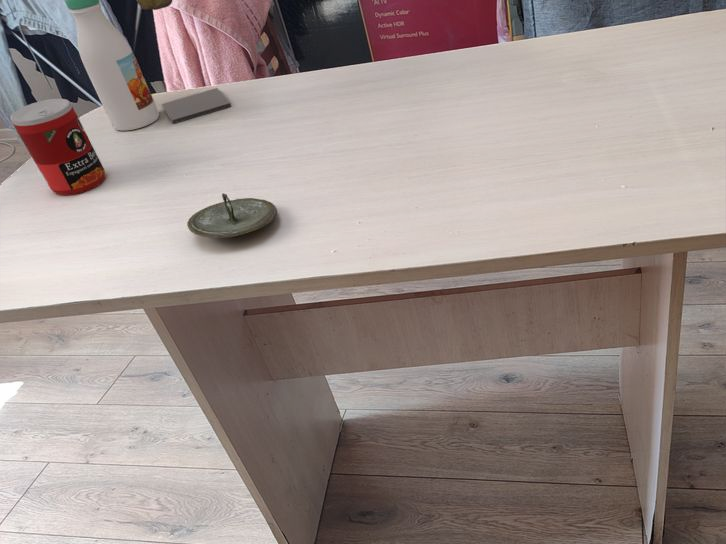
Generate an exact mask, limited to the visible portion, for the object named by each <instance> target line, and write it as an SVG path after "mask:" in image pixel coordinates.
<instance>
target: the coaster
mask: <svg viewBox="0 0 726 544" xmlns="http://www.w3.org/2000/svg"><path fill="white" fill-rule="evenodd" d="M161 107H162V108H163V110H164V112H165V113H166V115H167V117H168V119H169V120H170V122H171V123H172V124H173V125H174V124H177V123H178V124H179V123H181V122H184V121H188V120H190V119H194V118H197V117H201V116H204V115H209V114H210V113H214V112H217V111H220V110H223V109H227V108H231V107H232V103H231V102H230V101H229V100H228V99H227V97H225V95H224V94H223V93H222V92H221V91H220V90H219V89H218V87H214V88H212V89H211V88H210V89H208V90H205V91H201V92H197V93H194V94H191V95H187V96H184V97H180V98H177V99H173V100H170V101H165V102H163V103H161Z"/></svg>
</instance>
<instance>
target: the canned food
mask: <svg viewBox="0 0 726 544" xmlns="http://www.w3.org/2000/svg"><path fill="white" fill-rule="evenodd" d="M9 118H10V120H11V124H12V125H13V126H14V129H15V130H16V133H17V134H18V135H19V137H20V140H21V141H22V142H23V144H24V146H25V148H26V149H27V152H28V154H29V155H30V157H31V158H32V160H33V162H34V163H35V165H36V167H37V168H38V170H39V172H40V174H41V176H42V177H43V179H44V181H45V182H46V184H47V186H48V187H49V189H50V190H51V191H52V192H53V193H55V194H56V195H59V196H73V195H74V196H75V195H79V194H83V193H85V192H87V191H91V190H93V189H95V188H96V187H98V186H100V185H101V184H102V183H103V182H104V180H105V179H106V172H105V171H106V170H105V168H104V166H103V164H102V162H101V160H100V158H99V155H98V154H97V152H96V150H95V148H94V146H93V144H92V141H91V140H90V138H89V136H88V134H87V132H86V130H85V128H84V126H83V124H82V122H81V120H80V118H79V116H78V115H77V112H76V111H75V109H74V107H73V105H72V103H71V102H70V100H68V99H66V98H50V99H44V100H40V101H36V102H33V103H29V104H27V105H25V106H22V107H20V108H19V109H17V110H15V111H14V112H13V113H11V115H10V116H9Z"/></svg>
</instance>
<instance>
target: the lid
mask: <svg viewBox="0 0 726 544" xmlns="http://www.w3.org/2000/svg"><path fill="white" fill-rule="evenodd" d="M221 196H222V200H223V201H221V202H218V203H214V204H212V205H208V206H206V207H204V208H202V209H200V210H198V211H197V212H195V213H193V214H192V215H191V216H190V217H189V218H188V221H187V222H186V226H187V229H188V230H189V231H190V232H191V233H192V234H194V235H196V236H197V237H198V236H199V237H201V238H207V239H221V238H222V239H223V238H230V237H232V238H233V237H236V236H237V237H238V236H241V235H245V234H248V233H251V232H255V231H256V230H257V231H258V230H260V229H261V228H263V227H265V226H267V225H269V224H270V223H271V222H273V221H274V220H275V218H277V214H278V209H277V207H276V205H275V204H274V203H273V202H271V201H269V200H266V199H260V198H253V197H244V198H236V199H231V200H230V198H229V197H228V194H227V193H222V194H221Z"/></svg>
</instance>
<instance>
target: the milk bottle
mask: <svg viewBox="0 0 726 544" xmlns="http://www.w3.org/2000/svg"><path fill="white" fill-rule="evenodd" d="M64 2H65V4H66V6H67V8H68V10H69V13H70V14H72V15H73V19H74V22H75V26H76V35H77V37H76V38H77V49H78V53H79V57H80V59H81V62H82V64H83V67H84V69H85V71H86V73H87V75H88V77H89V80H90V82H91V84H92V85H93V88H94V90H95V92H96V95H97V97H98V99H99V101H100V103H101V105H102V107H103V109H104V111H105V114H106V115H107V117H108V119H109V121H110V123H111V125H112V127H113V128H114V129H115V130H118V131H132V130H137V129H140V128H144V127H146V126H148V125H151V124H153V123H155V122H156V121H157V120H158V118H159V117H160V112H159V110H158V107H157V105H156V103H155V100H154V98H153V96H152V94H151V91H150V89H149V86H148V84H147V81H146V79H145V77H144V75H143V72H142V70H141V68H140V66H139V63H138V61H137V59H136V57H135V54H134V52H133V50H132V48H131V46H130V44H129V43H128V41H127V40H126V38H125V36H124V35H123V34H122V33H121V31H119V30H118V29H117V28H116V26H115V25H113V23H112V22H111V21H110V20H109V19H108V17H107V16H106V15H105V13H104V11H103V10H102V4H101V2H100V0H64Z"/></svg>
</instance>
